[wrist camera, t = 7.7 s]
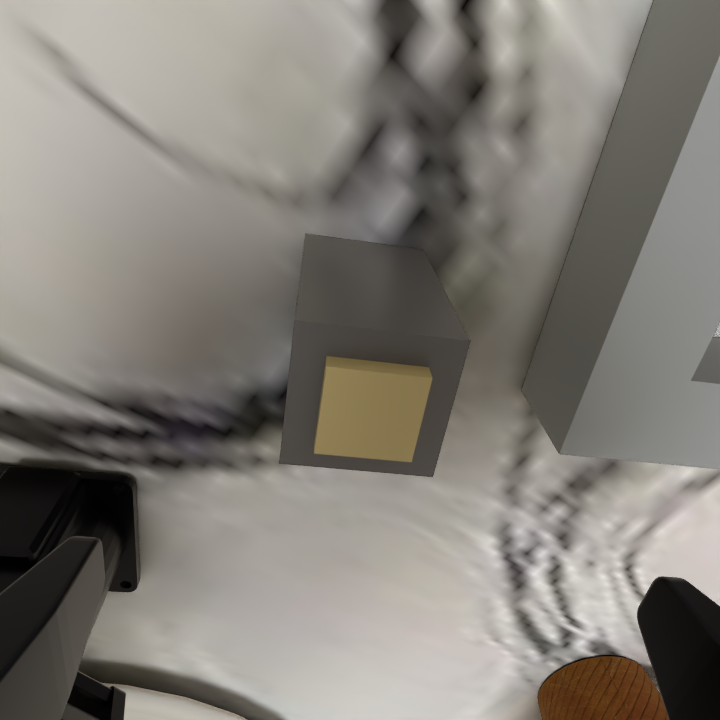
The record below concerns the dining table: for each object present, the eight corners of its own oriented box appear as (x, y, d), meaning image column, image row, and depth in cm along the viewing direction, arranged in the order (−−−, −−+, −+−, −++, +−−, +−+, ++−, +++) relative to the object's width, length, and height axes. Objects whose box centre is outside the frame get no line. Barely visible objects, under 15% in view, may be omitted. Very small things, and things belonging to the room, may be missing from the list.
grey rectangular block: (400, 353, 20) (436, 490, 14) (293, 340, 20) (277, 476, 13) (422, 249, 19) (475, 350, 12) (305, 233, 18) (293, 329, 12)
